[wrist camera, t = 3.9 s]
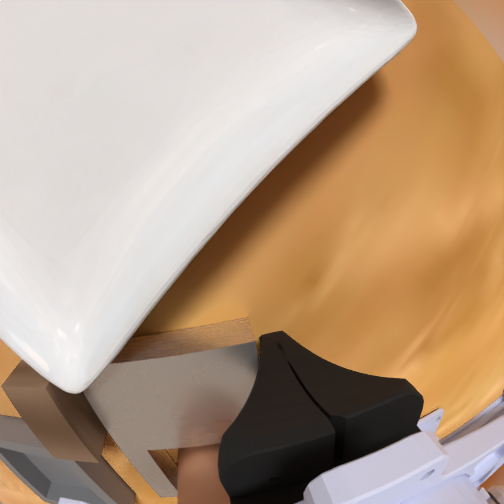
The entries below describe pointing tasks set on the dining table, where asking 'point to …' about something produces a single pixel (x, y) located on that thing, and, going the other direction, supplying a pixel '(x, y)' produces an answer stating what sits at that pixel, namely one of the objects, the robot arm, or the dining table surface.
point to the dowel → (200, 476)
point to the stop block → (56, 415)
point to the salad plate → (150, 146)
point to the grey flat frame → (175, 394)
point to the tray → (58, 469)
